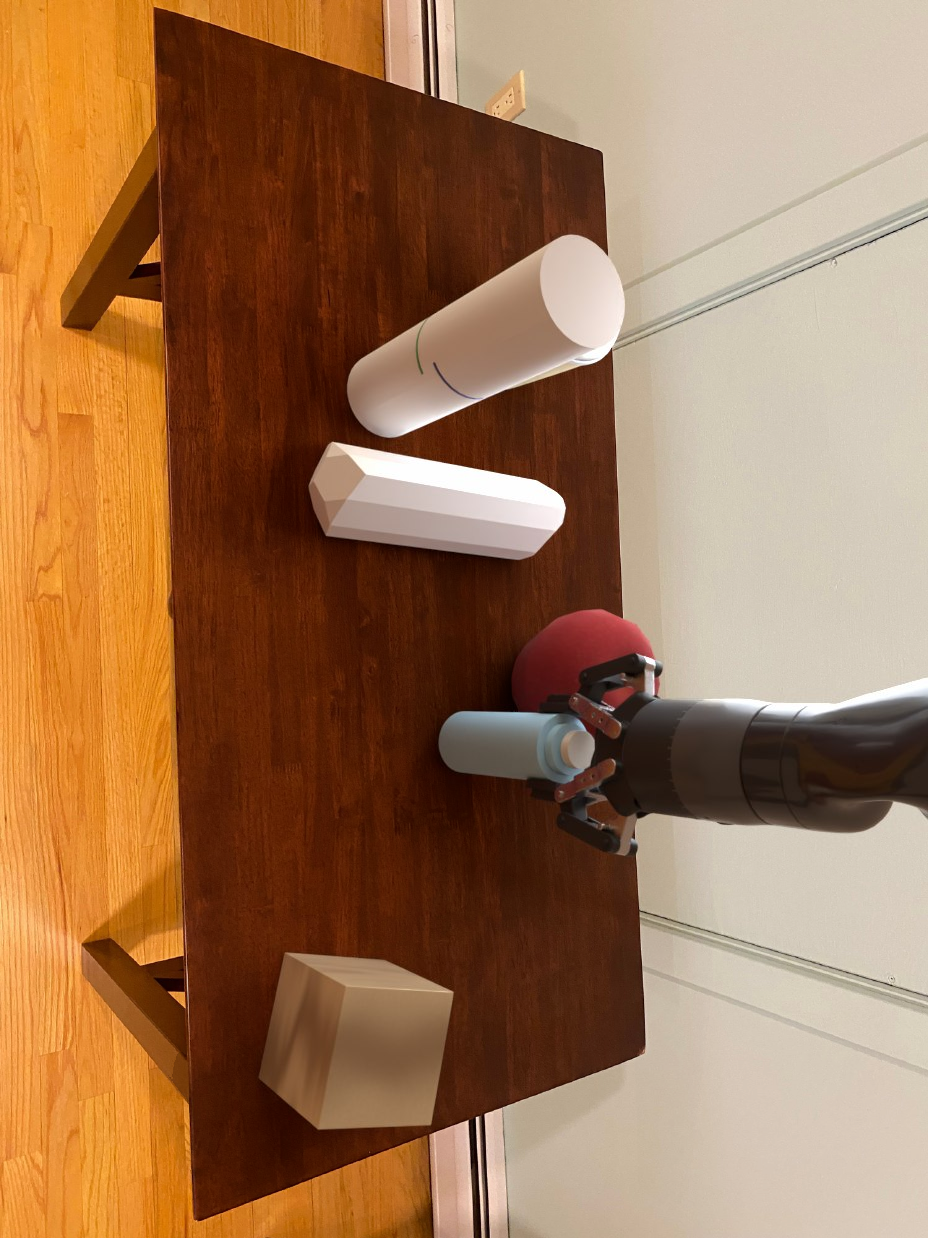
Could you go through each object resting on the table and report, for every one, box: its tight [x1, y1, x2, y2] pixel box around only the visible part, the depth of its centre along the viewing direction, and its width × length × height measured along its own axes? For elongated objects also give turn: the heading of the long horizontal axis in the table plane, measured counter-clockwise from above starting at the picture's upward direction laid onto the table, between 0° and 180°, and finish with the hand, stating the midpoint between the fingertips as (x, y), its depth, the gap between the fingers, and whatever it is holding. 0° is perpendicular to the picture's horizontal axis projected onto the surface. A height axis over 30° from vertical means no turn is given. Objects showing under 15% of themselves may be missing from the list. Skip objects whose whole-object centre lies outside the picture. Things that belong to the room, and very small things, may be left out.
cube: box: [258, 952, 454, 1131], centre depth 68 cm, size 9×9×10 cm
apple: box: [511, 608, 661, 739], centre depth 81 cm, size 12×12×13 cm
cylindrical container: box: [346, 234, 626, 439], centre depth 69 cm, size 7×7×25 cm
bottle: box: [438, 710, 595, 784], centre depth 73 cm, size 5×5×15 cm
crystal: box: [308, 441, 566, 561], centre depth 79 cm, size 7×7×24 cm
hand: (541, 747), depth 71 cm, fingers closed on bottle, 5 cm apart
